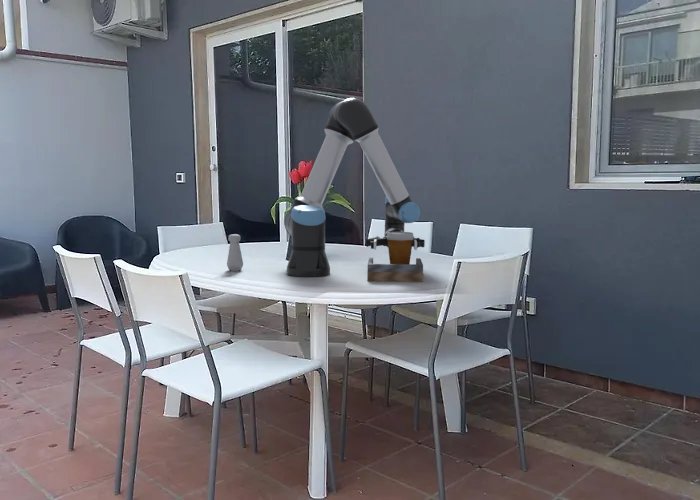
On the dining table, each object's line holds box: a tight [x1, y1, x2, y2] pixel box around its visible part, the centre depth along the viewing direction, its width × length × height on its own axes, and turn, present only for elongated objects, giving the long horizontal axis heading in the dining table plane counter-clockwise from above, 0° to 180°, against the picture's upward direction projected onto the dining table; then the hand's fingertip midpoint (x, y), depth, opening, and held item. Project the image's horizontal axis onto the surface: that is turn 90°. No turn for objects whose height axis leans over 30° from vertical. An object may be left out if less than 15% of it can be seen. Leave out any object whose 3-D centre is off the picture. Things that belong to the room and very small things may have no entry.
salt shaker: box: [226, 233, 244, 272], centre depth 215 cm, size 6×6×13 cm
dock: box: [366, 257, 424, 283], centre depth 203 cm, size 18×16×6 cm
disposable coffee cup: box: [386, 231, 415, 264], centre depth 203 cm, size 10×10×12 cm
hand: (395, 245), depth 200 cm, fingers open, 13 cm apart
